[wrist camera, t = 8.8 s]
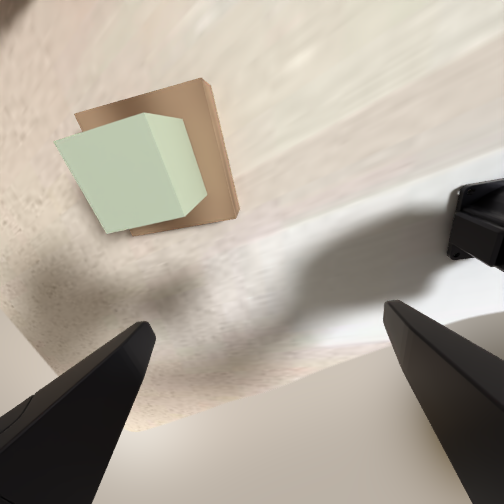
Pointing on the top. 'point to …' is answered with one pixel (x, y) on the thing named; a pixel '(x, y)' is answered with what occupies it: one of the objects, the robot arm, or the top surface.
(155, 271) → the top surface
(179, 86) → the walnut slab
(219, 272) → the top surface
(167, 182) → the sage cube
